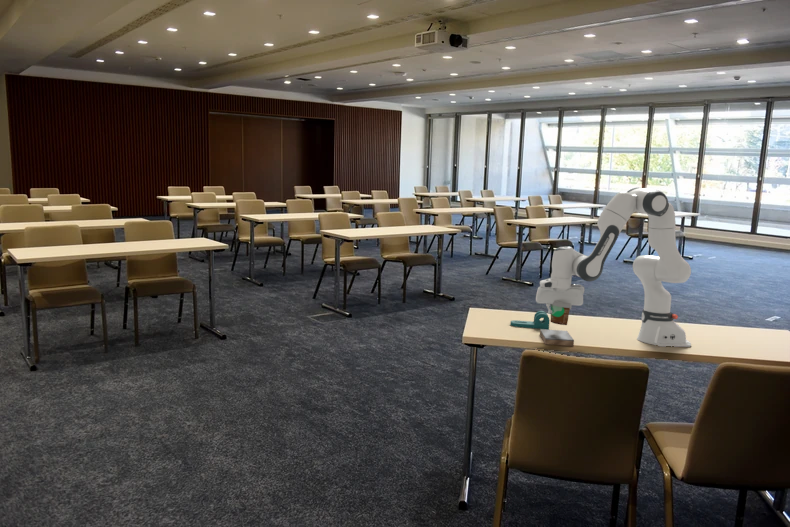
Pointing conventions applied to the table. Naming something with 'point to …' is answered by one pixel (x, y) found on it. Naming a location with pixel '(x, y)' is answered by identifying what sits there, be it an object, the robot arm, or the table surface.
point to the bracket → (534, 322)
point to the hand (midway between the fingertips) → (558, 314)
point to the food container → (560, 312)
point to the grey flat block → (556, 337)
